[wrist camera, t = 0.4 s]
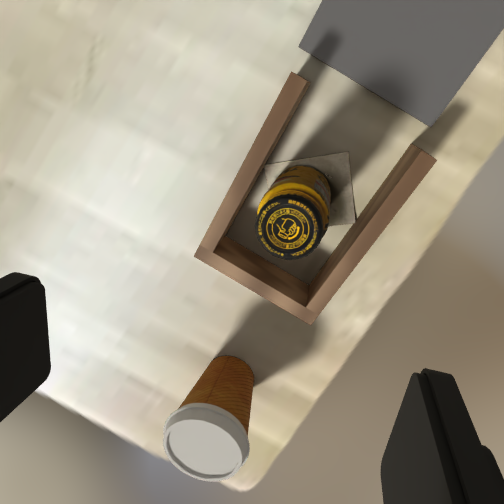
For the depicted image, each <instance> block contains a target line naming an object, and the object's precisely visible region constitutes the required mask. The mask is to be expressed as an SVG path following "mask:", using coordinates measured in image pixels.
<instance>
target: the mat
mask: <svg viewBox="0 0 504 504" xmlns="http://www.w3.org/2000/svg"><path fill="white" fill-rule="evenodd" d="M503 28H504V0H322V2H321V4H320V6H319V8H318V10H317V12H316V14H315V16H314V18H313V19H312V21H311V23H310V25H309V27H308V29H307V31H306V33H305V35H304V37H303V39H302V41H301V42H300V44H299V46H298V47H299V48H301V49H303V50H304V51H306V52H308V53H309V54H311V55H313V56H314V57H316V58H317V59H319V60H321V61H322V62H324V63H326V64H327V65H329V66H331V67H332V68H334V69H336V70H337V71H339V72H341V73H342V74H344V75H345V76H347V77H349V78H350V79H352V80H354V81H355V82H357V83H359V84H360V85H362V86H364V87H365V88H367V89H369V90H370V91H372V92H373V93H375V94H377V95H378V96H380V97H382V98H383V99H385V100H387V101H388V102H390V103H392V104H393V105H395V106H396V107H398V108H400V109H401V110H403V111H405V112H406V113H408V114H410V115H411V116H413V117H415V118H416V119H418V120H420V121H421V122H423V123H424V124H426V125H428V126H429V127H432V126H433V124H434V123H435V122H436V120H437V119H438V118H439V116H440V115H441V113H442V112H443V111H444V109H445V108H446V107H447V105H448V104H449V102H450V101H451V100H452V98H453V97H454V96H455V94H456V93H457V91H458V90H459V89H460V87H461V86H462V85H463V83H464V82H465V81H466V79H467V78H468V76H469V75H470V74H471V72H472V71H473V70H474V68H475V67H476V65H477V64H478V63H479V61H480V60H481V59H482V57H483V56H484V54H485V53H486V52H487V50H488V49H489V48H490V46H491V45H492V43H493V42H494V41H495V39H496V38H497V37H498V35H499V34H500V33H501V31H502V30H503Z"/></svg>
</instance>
